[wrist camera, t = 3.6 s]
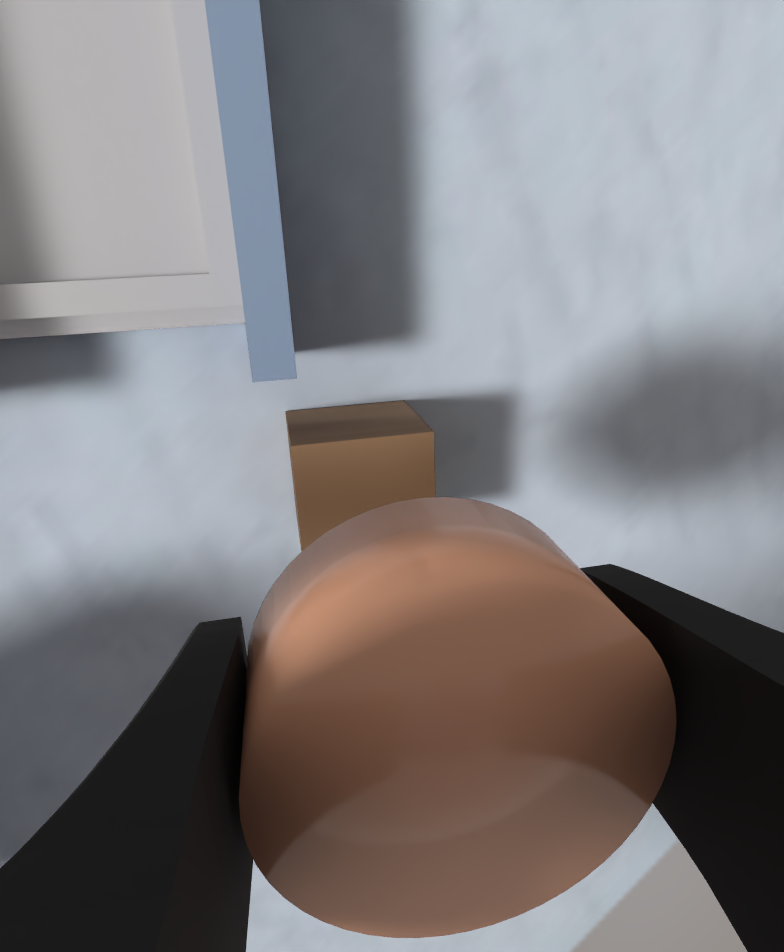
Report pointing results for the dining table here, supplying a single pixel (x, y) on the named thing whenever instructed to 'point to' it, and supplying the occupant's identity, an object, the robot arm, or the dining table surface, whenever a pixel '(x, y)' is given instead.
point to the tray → (140, 173)
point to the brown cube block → (356, 462)
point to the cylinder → (443, 722)
